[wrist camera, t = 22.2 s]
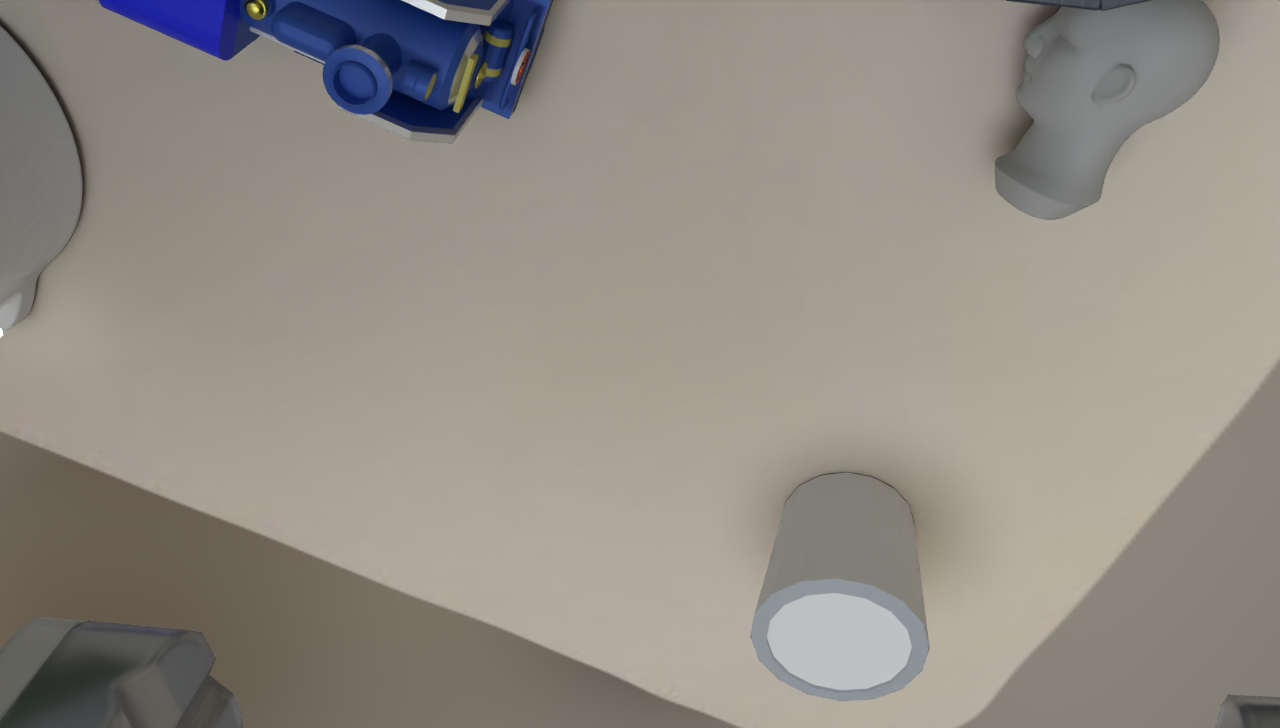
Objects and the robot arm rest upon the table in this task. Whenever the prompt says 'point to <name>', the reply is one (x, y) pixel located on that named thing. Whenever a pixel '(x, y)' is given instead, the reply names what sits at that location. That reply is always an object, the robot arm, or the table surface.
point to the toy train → (378, 51)
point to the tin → (1084, 3)
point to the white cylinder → (843, 592)
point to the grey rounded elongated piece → (1099, 95)
